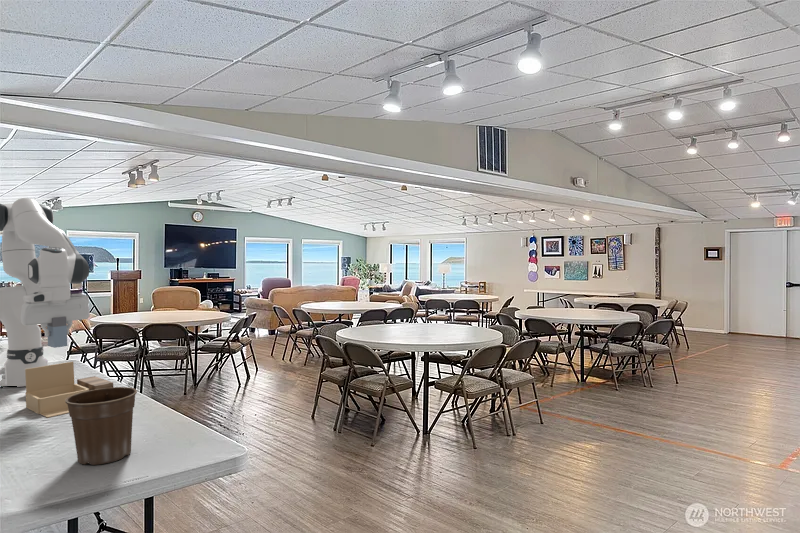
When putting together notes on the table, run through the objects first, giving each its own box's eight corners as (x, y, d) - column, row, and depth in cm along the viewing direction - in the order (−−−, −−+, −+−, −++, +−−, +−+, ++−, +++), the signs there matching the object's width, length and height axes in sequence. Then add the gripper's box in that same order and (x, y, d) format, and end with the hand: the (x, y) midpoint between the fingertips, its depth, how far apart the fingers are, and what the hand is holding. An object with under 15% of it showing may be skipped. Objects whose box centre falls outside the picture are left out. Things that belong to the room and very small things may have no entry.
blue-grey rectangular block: (47, 345, 191) (46, 316, 190) (60, 344, 194) (59, 315, 193) (54, 347, 187) (53, 318, 186) (67, 345, 190) (66, 316, 189)
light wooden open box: (25, 407, 189) (23, 369, 189) (75, 397, 201) (73, 361, 200) (45, 418, 176) (44, 377, 176) (98, 406, 188) (96, 368, 188)
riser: (77, 395, 203) (77, 379, 202) (95, 392, 207) (94, 376, 207) (95, 403, 192) (95, 386, 192) (113, 399, 197) (113, 382, 197)
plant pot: (60, 457, 143) (57, 395, 143) (126, 440, 155) (124, 383, 154) (78, 475, 132) (75, 407, 131) (148, 456, 143) (146, 393, 142)
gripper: (84, 292, 200) (86, 330, 200) (17, 297, 184) (19, 338, 185) (91, 293, 195) (93, 332, 196) (24, 298, 180) (26, 340, 180)
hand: (57, 335), depth 190 cm, fingers closed on blue-grey rectangular block, 4 cm apart
